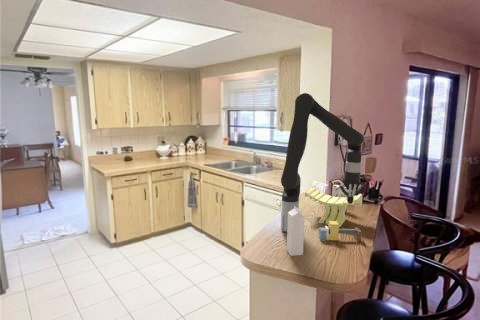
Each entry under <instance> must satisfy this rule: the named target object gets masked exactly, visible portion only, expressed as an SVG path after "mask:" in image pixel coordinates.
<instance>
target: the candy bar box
mask: <svg viewBox="0 0 480 320" xmlns="http://www.w3.org/2000/svg"><path fill="white" fill-rule="evenodd" d="M339 185H340V184H332V187H331V188H332V189H331V191H332V192H331V196H332V197H333V196H334V197H340V198H341V197H347V195H345V194H344V193H343V192H342V190H341V189H340V187H339ZM344 190H345V191H346V192H347V189H346V187H345V186H344ZM347 211H348V206H347V207H346V209H345V213H348V212H347Z"/></svg>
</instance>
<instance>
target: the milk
mask: <svg viewBox="0 0 480 320" xmlns="http://www.w3.org/2000/svg"><path fill="white" fill-rule="evenodd" d="M304 236H305V215H304V214H303V213H302V212H301V211H299V209H298V208H296V207H295V206H294V209H292V210H291V211H289V212H288V225H287V232H286V238H287V239H286V251H287V253H288V254H289V255H290V256H291V257H292V256H293V257H294V256H304V238H305V237H304Z"/></svg>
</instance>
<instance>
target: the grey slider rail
mask: <svg viewBox="0 0 480 320" xmlns="http://www.w3.org/2000/svg"><path fill="white" fill-rule="evenodd" d="M359 230H360V231H361V229H360V228H359ZM361 232H362V231H361ZM329 233H330V229H329ZM338 234H346V235H348V234H349V235H350V234H353V235H354V234H357V230H356V229H355V228H339V233H338Z"/></svg>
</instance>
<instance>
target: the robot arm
mask: <svg viewBox="0 0 480 320" xmlns="http://www.w3.org/2000/svg"><path fill="white" fill-rule="evenodd" d="M293 113H294V115H293V121H292V125H291V129H290V132H289V136H288V137H289V138H288V143H287V149H286V157H285V163H284V167H283V170H282V171H283V172H282V174H281V178H280V184H281V186H282V187H283V191H282V195H281V212H280V229H281V230H280V231H281V232H283V233H287V225H288V212H289V211H291V210H292V209H294V206H295V207H296V208H298V210H299V207H300V206H299V203H300V202H299V201H300V195H301V183H302V182H301V181H302V180H301V176H300V174H299V166H300V165H301V164H300V163H301V161H302V158H303V155H304V154H305V150H306V146H307V139H308V132H309V131H308V124H309V119H310V115H311V116H313V117H315V118H316V119H317V120H319V122H321V124H323V125H324V126H326V127H327V128H328V129H329V130H330V131H332V132H334V133H335V134H336V135H337V136H340V137H341V138H342V139H343V140H345V142H347V150H346V151H347V153H346V162H345V166H344V178H343V182H342V183H341V184H338V185H339V187H340V189H341V190H342V192H343V193H344V194H345V195H347V202H348V203H350V204H352V202H353V199H354V196H358V195H359V194H361V192H362V191H363V190H364V189H365V186H364V185H362V184H361V181H360V180H361V174H362V173H361V171H362V144H363V142H364V141H365V140H364V138H365V137H364V135H363V134H362V132H359V131H358V130H356V129H355V128H353V127H352V126H350V125H349V124H348V123H347V122H346V121H344V120H342V119H341V118H339V117H338V116H337V115H335V114H333V113H332V112H330V111H329V110H327V109H326V108H325V107H324V106H322V105H321V104H320V103H319V102H317V100H315V98H314V97H313V96H312V94H309V93H307V92H302V93H300V94H298V95H297V96H296V98H295V100H294V112H293ZM344 187H346V189H347V192H346V191H345V190H344Z"/></svg>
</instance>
